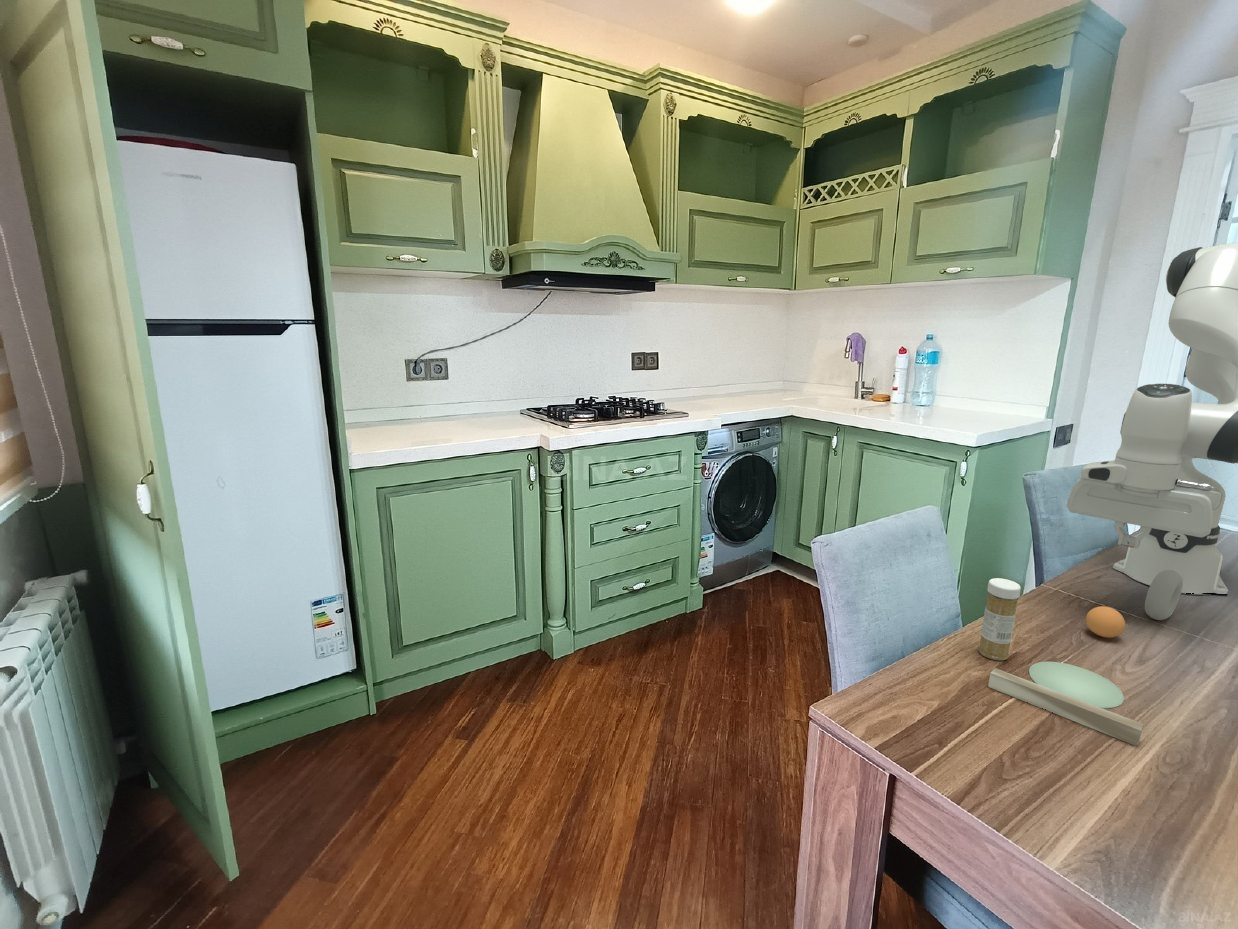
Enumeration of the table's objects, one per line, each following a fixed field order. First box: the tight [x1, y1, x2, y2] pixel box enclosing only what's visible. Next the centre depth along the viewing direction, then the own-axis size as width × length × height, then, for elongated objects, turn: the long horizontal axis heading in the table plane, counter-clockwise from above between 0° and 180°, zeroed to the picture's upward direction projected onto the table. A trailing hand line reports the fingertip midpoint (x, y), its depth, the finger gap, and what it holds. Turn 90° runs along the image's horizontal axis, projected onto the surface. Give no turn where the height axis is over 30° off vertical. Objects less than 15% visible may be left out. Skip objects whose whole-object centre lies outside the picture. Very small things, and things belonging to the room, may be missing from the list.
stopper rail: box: [987, 667, 1144, 747], centre depth 86 cm, size 2×18×2 cm, turn 42°
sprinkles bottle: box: [977, 577, 1022, 662], centre depth 100 cm, size 5×5×14 cm
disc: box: [1028, 661, 1125, 709], centre depth 93 cm, size 12×12×1 cm
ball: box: [1085, 605, 1126, 639], centre depth 107 cm, size 6×6×6 cm
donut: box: [1144, 570, 1183, 621], centre depth 112 cm, size 10×4×10 cm, turn 124°
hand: (1128, 546), depth 110 cm, fingers closed
